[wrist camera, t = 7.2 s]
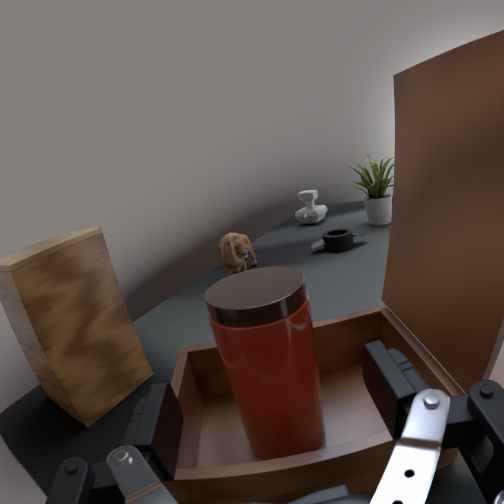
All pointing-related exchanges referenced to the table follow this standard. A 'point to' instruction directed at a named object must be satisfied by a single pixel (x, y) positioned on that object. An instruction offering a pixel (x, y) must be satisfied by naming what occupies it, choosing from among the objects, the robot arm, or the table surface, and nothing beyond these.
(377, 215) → the house plant
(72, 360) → the oak stand
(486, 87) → the box lid
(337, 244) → the duct tape
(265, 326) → the spice jar
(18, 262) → the cork trivet
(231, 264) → the lion figurine
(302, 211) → the stamp
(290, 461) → the wooden box
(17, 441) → the table surface
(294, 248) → the table surface
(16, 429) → the table surface
